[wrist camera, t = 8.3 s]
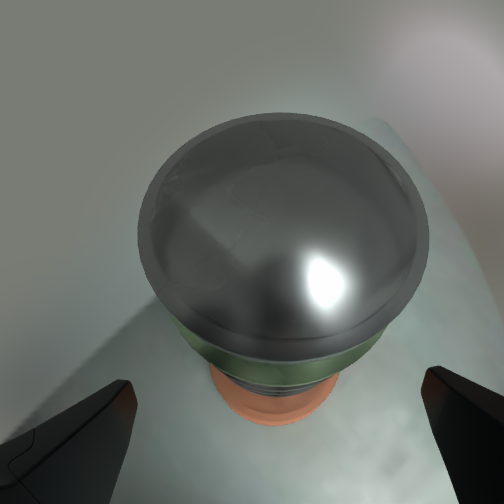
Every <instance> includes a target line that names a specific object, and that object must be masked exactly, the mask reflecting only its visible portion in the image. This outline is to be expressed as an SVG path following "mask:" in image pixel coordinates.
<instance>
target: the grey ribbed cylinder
mask: <svg viewBox="0 0 504 504" xmlns="http://www.w3.org/2000/svg"><path fill="white" fill-rule="evenodd" d="M138 247H139V253H140V259H141V262H142V265H143V268H144V271H145V274H146V276H147V279H148V281H149V282H150V284H151V286H152V288H153V290H154V292H155V293H156V295H157V296H158V297H159V299H160V300H161V301H162V303H163V304H164V305H165V307H166V308H167V309H168V310H169V311H170V314H171V316H172V319H173V321H174V323H175V324H176V326H177V328H178V329H179V331H180V333H181V334H182V336H183V337H184V338H185V339H186V340H187V342H188V343H189V344H190V345H191V347H192V348H193V349H195V350H196V351H197V352H198V353H199V354H200V355H201V356H202V357H203V358H205V359H206V360H207V361H208V362H209V363H211V364H212V365H213V366H214V367H216V368H217V369H218V370H219V371H220V372H222V373H223V374H224V375H225V376H227V377H228V378H229V379H230V380H232V381H233V382H234V383H235V384H237V385H238V386H240V387H242V388H243V389H245V390H247V391H250V392H252V393H255V394H258V395H262V396H268V397H287V396H293V395H297V394H300V393H303V392H305V391H308V390H310V389H311V388H313V387H315V386H317V385H318V384H320V383H322V382H324V381H325V380H327V379H328V378H330V377H332V376H334V375H335V374H337V373H338V372H340V371H342V370H343V369H345V368H346V367H348V366H350V365H351V364H353V363H354V362H356V361H357V360H358V359H359V358H361V357H362V356H363V355H364V354H365V353H366V352H368V351H369V350H370V349H371V347H372V346H373V345H374V344H375V343H376V342H377V341H378V339H379V338H380V337H381V335H382V334H383V332H384V330H385V329H386V327H387V326H388V324H389V323H390V322H391V321H392V320H393V319H395V318H396V317H397V316H398V315H399V314H400V313H401V311H402V310H403V309H404V308H405V306H406V305H407V304H408V302H409V301H410V300H411V298H412V297H413V295H414V293H415V291H416V289H417V287H418V286H419V284H420V282H421V279H422V276H423V273H424V270H425V267H426V263H427V258H428V252H429V227H428V220H427V215H426V211H425V208H424V205H423V201H422V199H421V197H420V195H419V192H418V190H417V188H416V186H415V185H414V183H413V181H412V180H411V178H410V176H409V175H408V173H407V172H406V171H405V170H404V168H403V167H402V166H401V165H400V163H399V162H398V161H397V160H396V159H395V158H394V157H393V156H392V155H391V154H390V153H389V152H388V151H386V150H385V149H384V148H383V147H381V146H380V145H379V144H378V143H376V142H375V141H373V140H372V139H370V138H369V137H367V136H366V135H364V134H362V133H360V132H358V131H356V130H354V129H353V128H351V127H348V126H346V125H343V124H341V123H338V122H335V121H332V120H329V119H325V118H322V117H317V116H312V115H306V114H297V113H264V114H256V115H251V116H245V117H241V118H237V119H233V120H231V121H227V122H224V123H222V124H219V125H217V126H215V127H212V128H210V129H208V130H206V131H204V132H202V133H201V134H199V135H197V136H196V137H194V138H192V139H191V140H189V141H188V142H187V143H185V144H184V145H183V146H181V147H180V148H179V149H178V150H177V151H176V152H175V153H174V154H173V155H171V156H170V157H169V159H167V161H166V162H165V163H164V164H163V166H162V167H161V168H160V169H159V170H158V172H157V174H156V175H155V177H154V178H153V180H152V182H151V183H150V185H149V188H148V190H147V192H146V194H145V196H144V199H143V202H142V206H141V209H140V214H139V221H138Z"/></svg>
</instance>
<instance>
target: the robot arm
mask: <svg viewBox="0 0 504 504" xmlns="http://www.w3.org/2000/svg"><path fill="white" fill-rule="evenodd" d="M421 396H422V399H423V402H424V406H425V409H426V412H427V416H428V419H429V423H430V426H431V429H432V433H433V435H434V438H435V440H436V443H437V445H438V448H439V450H440V453H441V455H442V458H443V461H444V463H445V466H446V469H447V471H448V474H449V477H450V479H451V482H452V485H453V488H454V491H455V493H456V496H457V499H458V502H459V504H504V396H502V395H500V394H498V393H496V392H493V391H491V390H489V389H487V388H485V387H483V386H481V385H479V384H477V383H475V382H473V381H470V380H468V379H466V378H464V377H462V376H460V375H458V374H456V373H454V372H452V371H450V370H448V369H446V368H444V367H442V366H434V367H429V368H428V369H427V370H426V373H425V377H424V380H423V384H422V387H421ZM137 405H138V404H137V398H136V395H135V392H134V389H133V386H132V384H131V382H130V381H128V380H121V379H118V380H115V381H114V382H112V383H111V384H109V385H107V386H106V387H104V388H102V389H101V390H99V391H97V392H95V393H94V394H92V395H90V396H89V397H87V398H85V399H84V400H82V401H80V402H79V403H77V404H75V405H73V406H72V407H70V408H68V409H66V410H65V411H63V412H61V413H60V414H58V415H56V416H54V417H53V418H51V419H49V420H47V421H45V422H44V423H42V424H40V425H38V426H37V427H36V428H33V429H31V430H29V431H28V432H26V433H24V434H22V435H20V436H18V437H16V438H14V439H12V440H10V441H8V442H5V443H3V444H1V445H0V504H109V502H110V499H111V496H112V493H113V490H114V487H115V484H116V481H117V478H118V475H119V472H120V469H121V466H122V463H123V461H124V458H125V455H126V452H127V449H128V446H129V442H130V437H131V433H132V428H133V424H134V419H135V415H136V411H137Z"/></svg>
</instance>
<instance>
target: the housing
mask: <svg viewBox="0 0 504 504" xmlns="http://www.w3.org/2000/svg"><path fill="white" fill-rule="evenodd" d="M210 367H211V372H212V376H213V379H214V382H215V385H216V387H217V389H218V391H219V392H220V393H221V395H222V396H223V398H224V400H225V401H226V402H227V404H228V405H229V406H230V407H231V408H232V409H233V410H234V411H235V412H236V413H238V414H239V415H240V416H242V417H244V418H245V419H247V420H250V421H252V422H255V423H258V424H262V425H269V426H278V425H286V424H290V423H294V422H296V421H299V420H301V419H303V418H305V417H306V416H308V415H309V414H311V413H312V412H313V411H315V410H316V409H317V408H318V407H319V406H320V404H321V403H322V402H323V401H324V400H325V399H326V398H327V397H328V395H329V394H330V393H331V391H332V389H333V387H334V386H335V383H336V381H337V379H338V375H339V372H338V373H337V374H335V375H334V376H332V377H330V378H328V379H327V380H325V381H324V382H322V383H320V384H318V385H317V386H315V387H313V388H311V389H310V390H308V391H305V392H303V393H300V394H297V395H293V396H287V397H268V396H262V395H258V394H255V393H252V392H250V391H247V390H245V389H243V388H242V387H240V386H238V385H237V384H235V383H234V382H233V381H232V380H230V379H229V378H228V377H227V376H225V375H224V374H223V373H222V372H220V371H219V370H218V369H217V368H216V367H214V366H213V365H212V364H211V363H210Z"/></svg>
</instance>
